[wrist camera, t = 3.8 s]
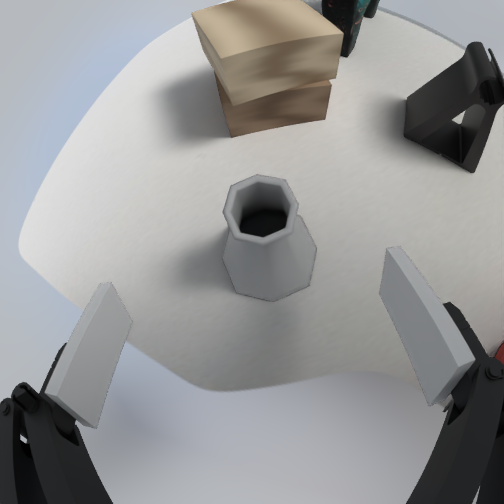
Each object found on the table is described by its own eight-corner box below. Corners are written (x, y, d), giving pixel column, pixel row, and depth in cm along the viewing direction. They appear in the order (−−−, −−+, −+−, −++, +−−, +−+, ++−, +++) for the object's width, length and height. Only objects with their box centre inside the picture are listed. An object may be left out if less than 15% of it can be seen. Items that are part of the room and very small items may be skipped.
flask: (310, 205, 22) (328, 131, 12) (321, 296, 20) (358, 285, 10) (220, 214, 22) (179, 149, 12) (226, 305, 21) (179, 302, 11)
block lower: (296, 64, 25) (296, 31, 20) (325, 120, 23) (331, 85, 18) (217, 79, 26) (208, 46, 21) (231, 138, 24) (221, 104, 19)
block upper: (288, 29, 21) (287, -9, 16) (335, 78, 19) (343, 33, 14) (203, 51, 21) (191, 13, 16) (233, 106, 19) (221, 58, 14)
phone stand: (402, 136, 22) (451, 49, 10) (406, 99, 23) (442, 19, 11) (472, 174, 21) (538, 113, 9) (470, 134, 22) (521, 72, 10)
